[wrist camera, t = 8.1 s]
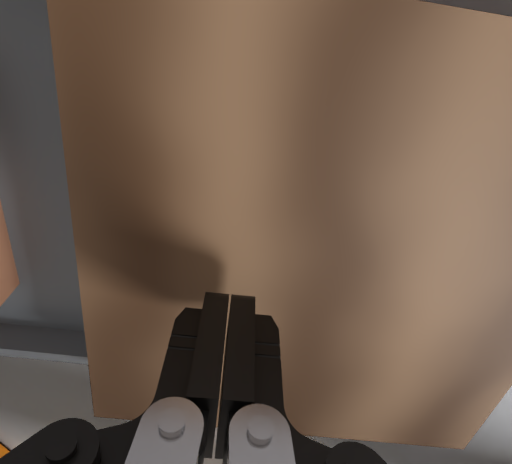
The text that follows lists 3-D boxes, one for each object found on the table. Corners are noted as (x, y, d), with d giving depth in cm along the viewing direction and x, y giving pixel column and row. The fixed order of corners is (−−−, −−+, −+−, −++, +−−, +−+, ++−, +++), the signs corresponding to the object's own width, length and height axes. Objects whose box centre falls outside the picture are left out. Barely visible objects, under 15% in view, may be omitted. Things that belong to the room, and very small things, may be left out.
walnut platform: (604, 41, 13) (756, 59, 9) (425, 366, 21) (463, 449, 17) (111, -45, 12) (38, -68, 8) (126, 335, 20) (94, 416, 16)
